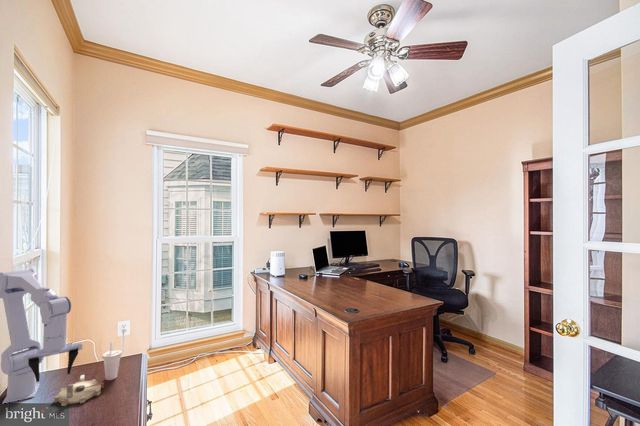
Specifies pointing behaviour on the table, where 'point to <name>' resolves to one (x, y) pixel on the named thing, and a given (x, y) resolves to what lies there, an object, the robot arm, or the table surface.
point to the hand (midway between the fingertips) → (53, 376)
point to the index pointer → (82, 378)
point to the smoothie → (111, 363)
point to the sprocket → (79, 392)
